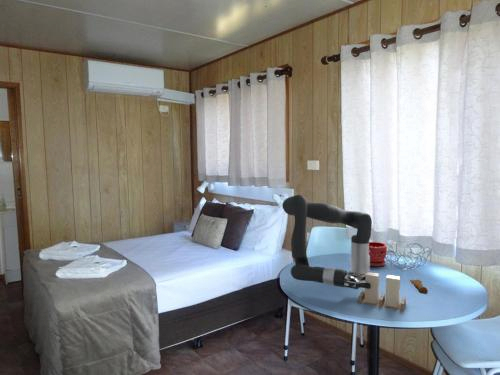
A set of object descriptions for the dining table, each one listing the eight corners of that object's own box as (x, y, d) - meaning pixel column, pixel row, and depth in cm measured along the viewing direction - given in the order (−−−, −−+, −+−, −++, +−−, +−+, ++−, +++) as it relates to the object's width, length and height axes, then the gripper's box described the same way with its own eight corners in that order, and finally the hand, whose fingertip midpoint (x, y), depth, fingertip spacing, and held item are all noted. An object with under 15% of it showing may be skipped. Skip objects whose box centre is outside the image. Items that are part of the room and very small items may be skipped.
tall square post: (386, 302, 152) (387, 274, 151) (399, 304, 150) (400, 276, 149) (385, 305, 149) (386, 277, 148) (398, 308, 146) (399, 279, 145)
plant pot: (369, 259, 219) (370, 240, 218) (390, 264, 210) (390, 244, 209) (358, 264, 211) (358, 244, 210) (379, 269, 201) (379, 248, 200)
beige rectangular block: (366, 298, 156) (367, 271, 155) (378, 300, 154) (379, 273, 153) (364, 302, 153) (365, 274, 152) (377, 304, 150) (377, 276, 149)
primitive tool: (408, 280, 183) (408, 274, 183) (419, 281, 182) (420, 274, 182) (419, 295, 164) (419, 287, 164) (432, 295, 163) (432, 288, 163)
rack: (362, 298, 159) (362, 289, 159) (405, 306, 151) (405, 297, 150) (358, 305, 152) (358, 295, 152) (403, 314, 144) (403, 303, 143)
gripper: (330, 273, 154) (369, 279, 146) (339, 264, 166) (375, 269, 158) (330, 290, 154) (369, 297, 147) (339, 280, 167) (375, 286, 159)
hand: (372, 283), depth 153 cm, fingers open, 8 cm apart
